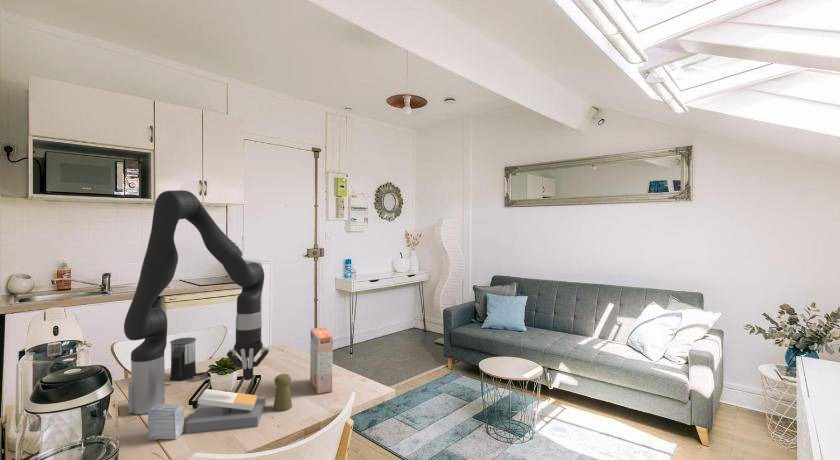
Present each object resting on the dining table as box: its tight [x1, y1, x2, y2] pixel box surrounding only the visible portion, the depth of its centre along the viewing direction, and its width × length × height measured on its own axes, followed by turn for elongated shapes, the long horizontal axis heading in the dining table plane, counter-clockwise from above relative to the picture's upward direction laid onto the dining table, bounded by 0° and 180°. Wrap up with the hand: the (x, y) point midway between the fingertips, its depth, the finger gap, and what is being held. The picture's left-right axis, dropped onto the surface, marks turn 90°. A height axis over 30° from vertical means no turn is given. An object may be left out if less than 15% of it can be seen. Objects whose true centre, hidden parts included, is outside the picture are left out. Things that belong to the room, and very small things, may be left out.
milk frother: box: [169, 336, 211, 382], centre depth 159 cm, size 14×16×15 cm
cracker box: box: [309, 327, 334, 395], centre depth 151 cm, size 14×6×21 cm, turn 25°
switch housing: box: [185, 397, 266, 434], centre depth 126 cm, size 20×13×5 cm, turn 102°
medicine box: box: [147, 403, 185, 441], centre depth 116 cm, size 8×4×9 cm, turn 92°
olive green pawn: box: [272, 373, 293, 413], centre depth 134 cm, size 6×6×11 cm
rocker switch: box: [196, 388, 258, 411], centre depth 126 cm, size 16×7×2 cm, turn 102°
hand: (248, 379), depth 127 cm, fingers closed
